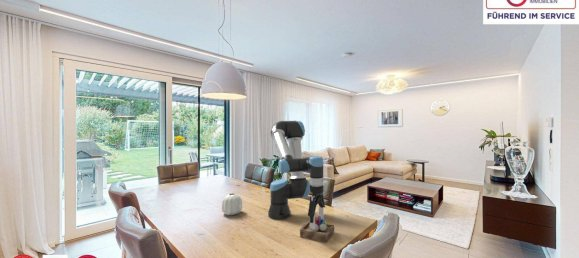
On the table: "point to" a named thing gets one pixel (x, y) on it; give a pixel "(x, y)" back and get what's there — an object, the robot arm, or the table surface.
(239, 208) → the vase
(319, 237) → the wooden tray
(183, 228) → the table surface
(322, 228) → the multicoloured small pieces
